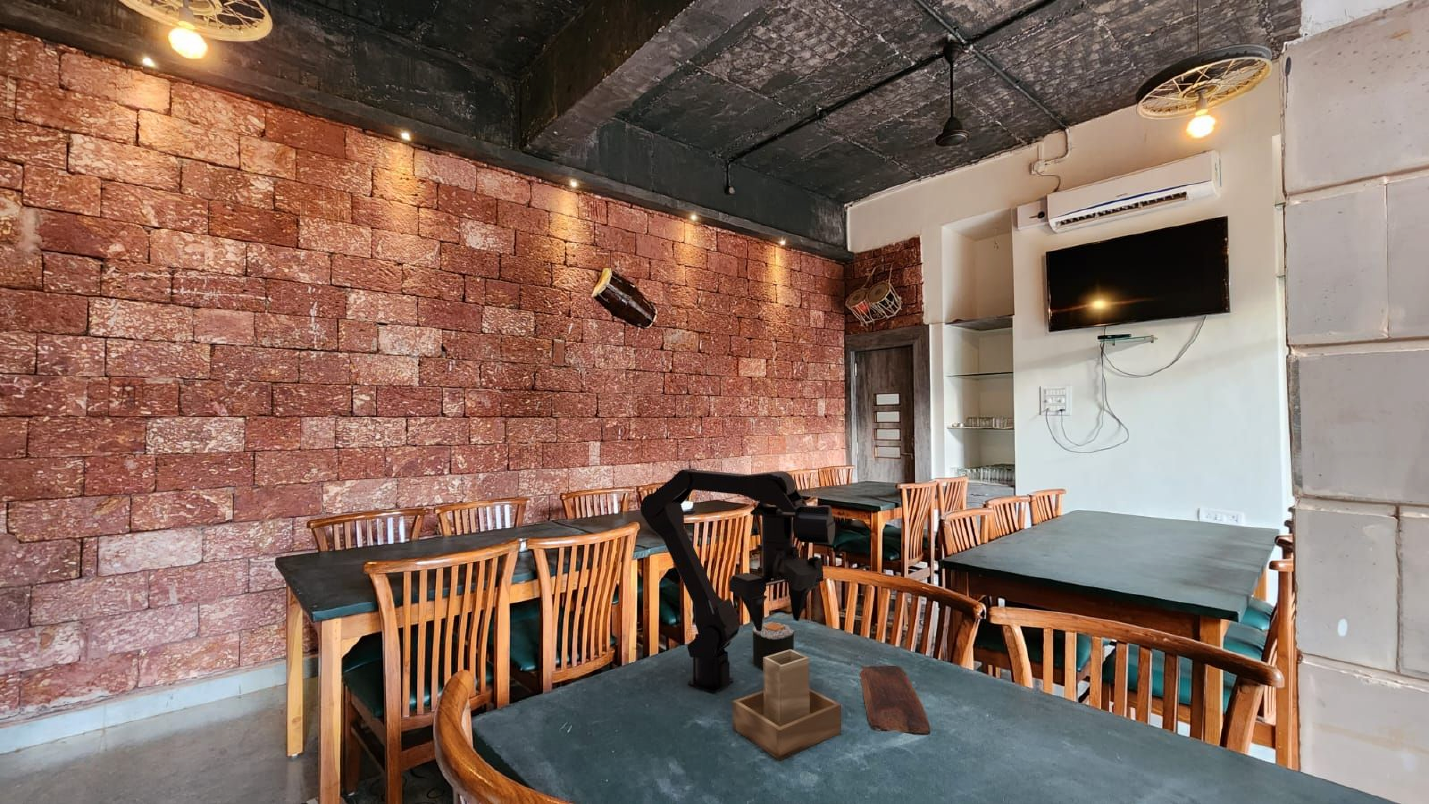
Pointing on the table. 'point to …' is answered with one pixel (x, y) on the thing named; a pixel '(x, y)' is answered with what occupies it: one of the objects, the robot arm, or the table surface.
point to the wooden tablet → (892, 701)
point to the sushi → (771, 641)
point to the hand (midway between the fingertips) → (778, 625)
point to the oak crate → (791, 735)
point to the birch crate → (786, 687)
